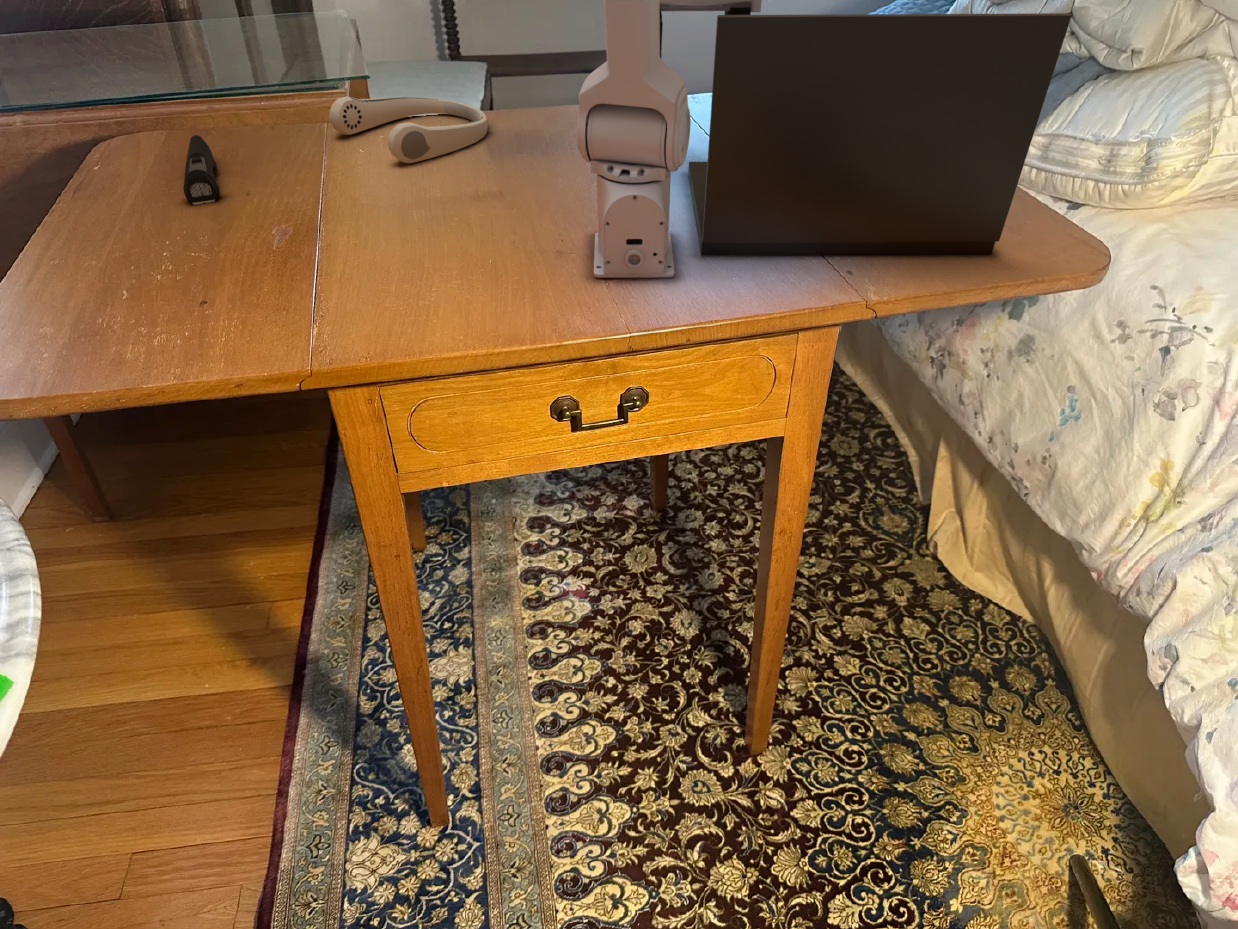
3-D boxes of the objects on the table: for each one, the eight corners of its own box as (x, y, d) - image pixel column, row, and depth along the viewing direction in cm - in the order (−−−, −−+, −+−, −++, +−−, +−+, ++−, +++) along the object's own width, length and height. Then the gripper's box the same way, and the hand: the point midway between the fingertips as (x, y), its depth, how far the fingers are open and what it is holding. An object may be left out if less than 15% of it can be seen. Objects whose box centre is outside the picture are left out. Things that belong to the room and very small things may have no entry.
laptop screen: (717, 14, 73) (718, 16, 73) (1068, 12, 74) (1072, 15, 73) (702, 239, 88) (702, 243, 87) (996, 237, 88) (999, 241, 87)
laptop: (687, 175, 105) (688, 160, 104) (934, 174, 105) (937, 159, 104) (701, 255, 89) (702, 238, 88) (991, 254, 89) (996, 237, 88)
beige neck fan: (439, 104, 125) (434, 68, 122) (512, 134, 116) (509, 96, 113) (329, 136, 116) (321, 98, 112) (400, 171, 107) (393, 131, 103)
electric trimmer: (219, 156, 111) (211, 131, 109) (222, 200, 100) (213, 173, 98) (188, 160, 110) (179, 135, 108) (187, 205, 99) (177, 178, 97)
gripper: (760, -62, 95) (748, 68, 104) (629, -61, 95) (628, 69, 104) (769, -50, 90) (756, 86, 99) (630, -49, 90) (630, 87, 99)
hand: (691, 79), depth 101 cm, fingers open, 7 cm apart
